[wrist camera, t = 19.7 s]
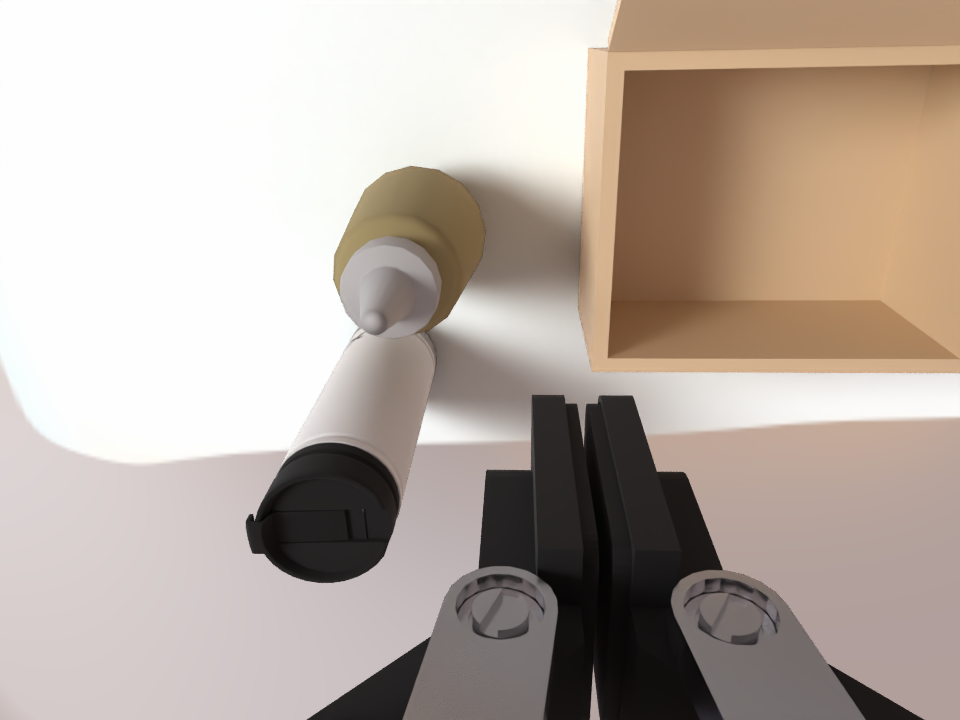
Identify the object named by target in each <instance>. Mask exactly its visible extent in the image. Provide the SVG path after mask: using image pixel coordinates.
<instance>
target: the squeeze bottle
mask: <svg viewBox="0 0 960 720" xmlns="http://www.w3.org/2000/svg"><path fill="white" fill-rule="evenodd" d="M485 233H486V231H485V227H484V223H483V220H482V216H481V212H480V208H479V205H478V204H477V203H476V201H475V200H474V199H473V197H472V196H471V195H470V194H469V192H468V191H467V190H466V188H465V187H464V186H463V184H462V183H460V182H458V181H456V180H455V179H453V178H451V177H450V176H448V175H446V174H445V173H443V172H441V171H439V170H436V169H429V168H422V167H415V166H409V167H406V168H402V169H398V170H395V171H391V172H387V173H385V174H383V175H382V176H381V177H380V178H379V179H377V180H376V181H375V182H374V183H372V184H371V185H370V186H369V187H368V188H366V189H365V191H364V193H363V195H362V197H361V199H360V201H359V203H358V205H357V207H356V209H355V211H354V213H353V215H352V217H351V219H350V221H349V224H348V226H347V228H346V230H345V233H344V235H343V237H342V239H341V241H340V244H339V246H338V248H337V250H336V253H335V255H334V276H333V280H334V282H335V285H336V288H337V291H338V293H339V296H340V299H341V302H342V303H343V306H344V308H345V311H346V313H347V314H348V316H349V317H350V318H351V319H352V320H353V321H354V322H355V324H356V325H357V326H358V327H359V328H361V329H363V330H364V331H365V332H367V333H368V334H370V335H374V336H376V337H383V338H390V339H398V338H402V337H406V336H410V335H414V334H417V333H422V332H426V331H429V330H430V329H432V328H433V327H434V326H436V325H437V324H439V323H440V322H441V321H443V320H444V319H446V318H447V317H448V315H449V314H450V312H451V310H452V309H453V307H454V305H455V304H456V302H457V300H458V299H459V297H460V295H461V294H462V292H463V290H464V288H465V286H466V285H467V283H468V281H469V279H470V278H471V276H472V274H473V272H474V270H475V269H476V267H477V265H478V263H479V262H480V260H481V258H482V255H483V247H484V240H485Z"/></svg>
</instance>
